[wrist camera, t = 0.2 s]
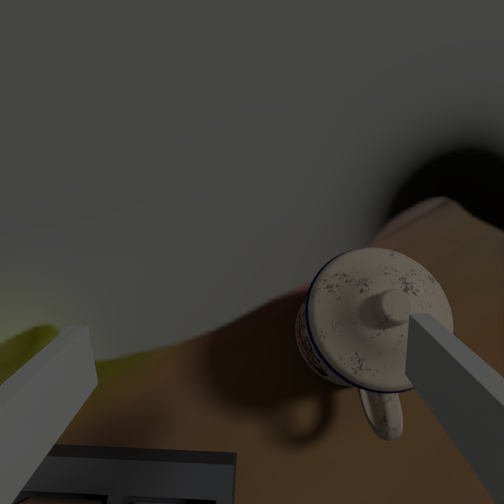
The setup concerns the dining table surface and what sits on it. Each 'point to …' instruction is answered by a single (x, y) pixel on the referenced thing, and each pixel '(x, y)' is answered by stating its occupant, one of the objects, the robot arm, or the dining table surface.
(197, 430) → the dining table surface
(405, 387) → the teacup with lid
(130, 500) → the button panel
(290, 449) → the dining table surface
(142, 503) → the white button
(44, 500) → the terracotta button
